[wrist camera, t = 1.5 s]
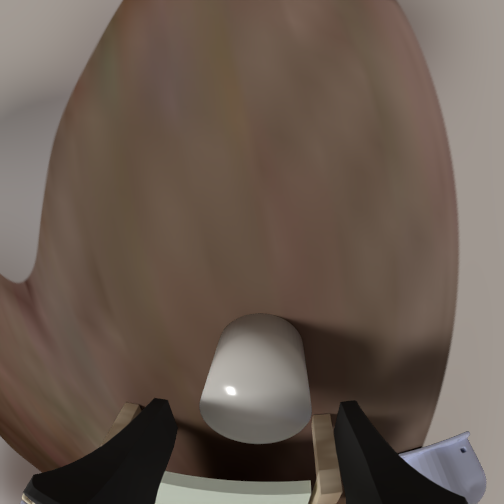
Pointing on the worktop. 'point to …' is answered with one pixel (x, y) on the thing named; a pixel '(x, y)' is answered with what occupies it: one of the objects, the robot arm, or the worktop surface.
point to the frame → (324, 452)
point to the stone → (257, 382)
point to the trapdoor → (229, 491)
